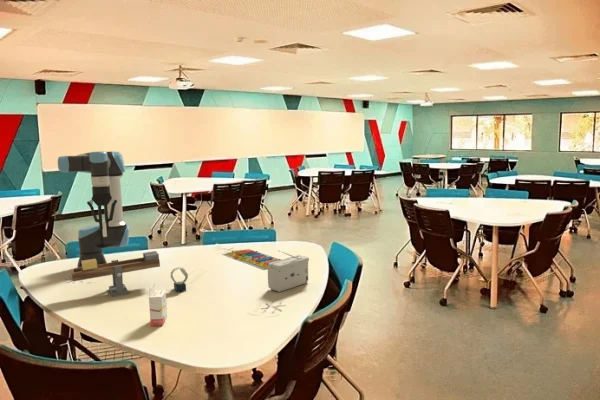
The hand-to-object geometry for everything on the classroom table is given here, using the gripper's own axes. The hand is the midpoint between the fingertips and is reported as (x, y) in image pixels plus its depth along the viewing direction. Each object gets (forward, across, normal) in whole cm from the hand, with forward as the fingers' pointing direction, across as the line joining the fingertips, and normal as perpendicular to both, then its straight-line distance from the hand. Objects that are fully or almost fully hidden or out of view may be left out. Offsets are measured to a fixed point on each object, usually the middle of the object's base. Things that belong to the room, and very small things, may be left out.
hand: (104, 236), depth 213 cm
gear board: (+28, +83, +19) cm, 89 cm away
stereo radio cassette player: (+28, +77, -36) cm, 89 cm away
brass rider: (+16, -7, 0) cm, 17 cm away
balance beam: (+17, +4, 0) cm, 18 cm away
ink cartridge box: (+28, +13, -47) cm, 56 cm away
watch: (+28, +30, -13) cm, 43 cm away
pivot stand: (+27, +4, 0) cm, 28 cm away
